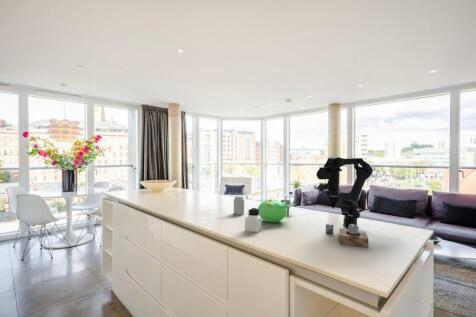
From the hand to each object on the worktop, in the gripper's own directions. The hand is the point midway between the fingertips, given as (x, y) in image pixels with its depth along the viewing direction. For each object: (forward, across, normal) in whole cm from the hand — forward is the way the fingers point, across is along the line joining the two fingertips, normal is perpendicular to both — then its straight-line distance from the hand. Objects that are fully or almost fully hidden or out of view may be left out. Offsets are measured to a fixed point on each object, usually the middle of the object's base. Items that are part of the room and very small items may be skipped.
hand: (333, 206), depth 137 cm
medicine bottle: (+13, +23, -40) cm, 48 cm away
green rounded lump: (+13, +1, -35) cm, 38 cm away
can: (+13, -8, -62) cm, 64 cm away
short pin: (+13, +8, -1) cm, 16 cm away
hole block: (+13, +17, +10) cm, 24 cm away
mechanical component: (+13, -24, -31) cm, 41 cm away
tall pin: (+13, +17, +10) cm, 24 cm away
